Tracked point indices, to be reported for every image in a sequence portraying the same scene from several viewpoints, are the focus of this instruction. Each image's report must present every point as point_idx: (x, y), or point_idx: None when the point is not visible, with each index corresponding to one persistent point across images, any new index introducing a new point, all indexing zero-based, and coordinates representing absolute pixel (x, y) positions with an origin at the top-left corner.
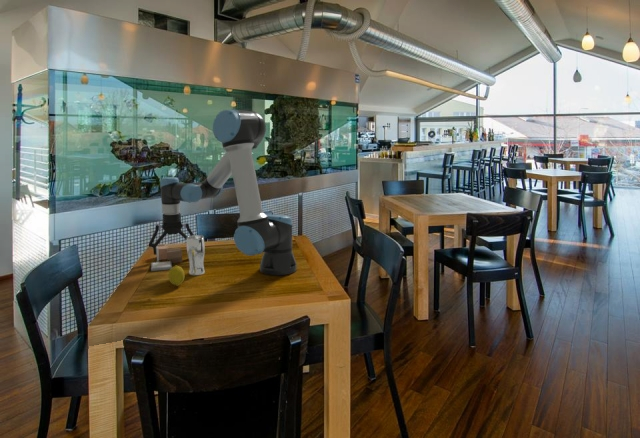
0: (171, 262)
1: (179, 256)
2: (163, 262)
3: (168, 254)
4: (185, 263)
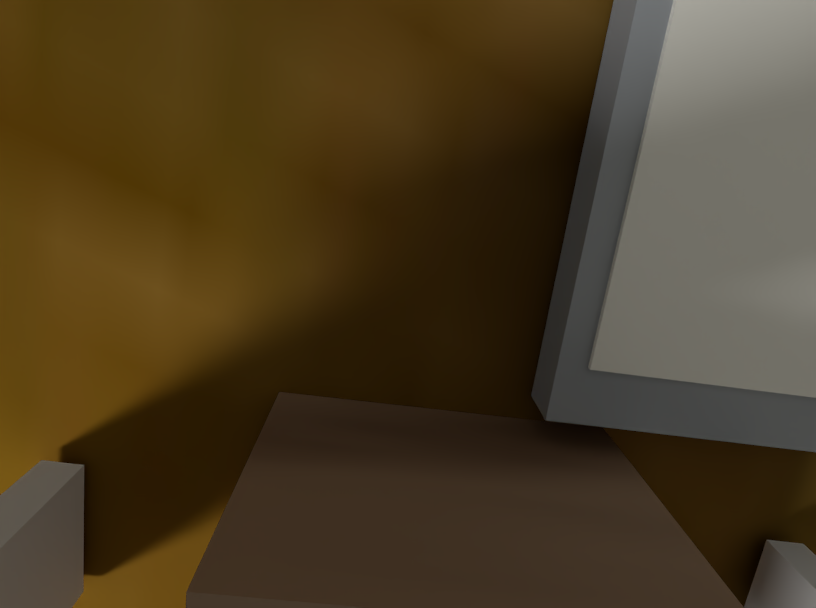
0: (525, 424)
1: (319, 474)
2: (762, 350)
3: (677, 572)
4: (221, 218)
